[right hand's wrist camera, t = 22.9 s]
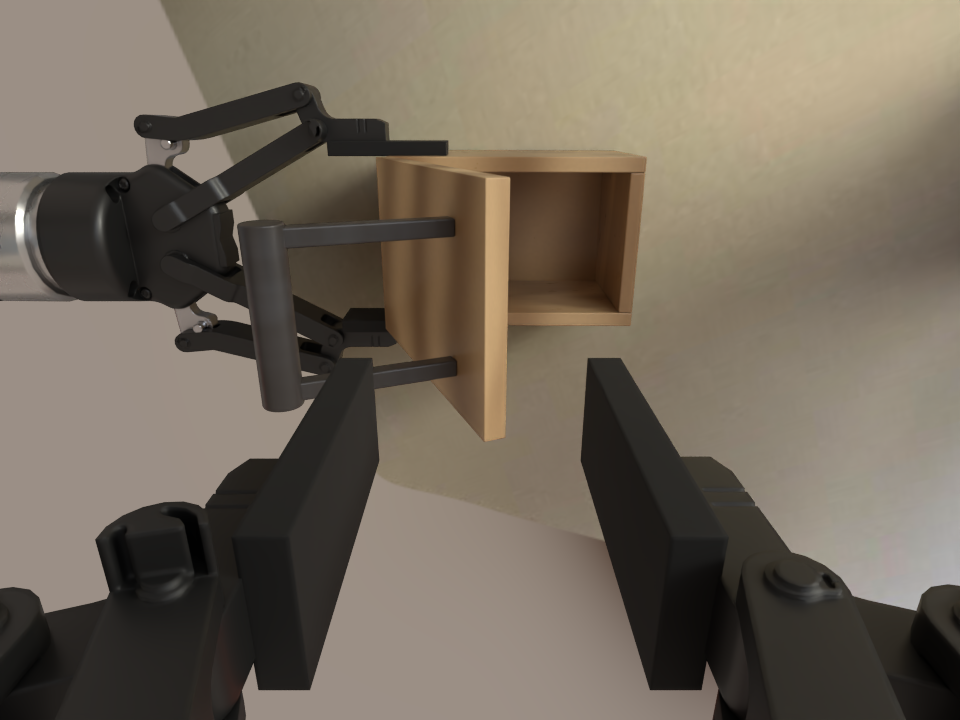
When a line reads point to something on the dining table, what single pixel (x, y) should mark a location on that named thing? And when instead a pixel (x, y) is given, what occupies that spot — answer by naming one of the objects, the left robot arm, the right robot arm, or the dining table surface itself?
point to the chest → (566, 231)
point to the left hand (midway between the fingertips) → (448, 238)
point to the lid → (403, 288)
